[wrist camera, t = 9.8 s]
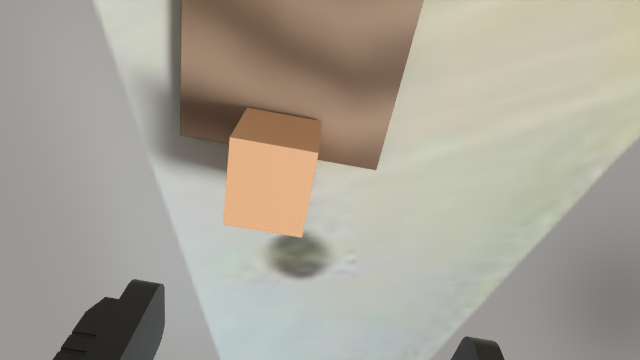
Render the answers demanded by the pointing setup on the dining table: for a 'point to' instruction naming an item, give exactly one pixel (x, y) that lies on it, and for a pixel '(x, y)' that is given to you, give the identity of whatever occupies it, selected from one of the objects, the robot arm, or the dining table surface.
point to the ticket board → (297, 68)
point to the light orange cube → (271, 172)
